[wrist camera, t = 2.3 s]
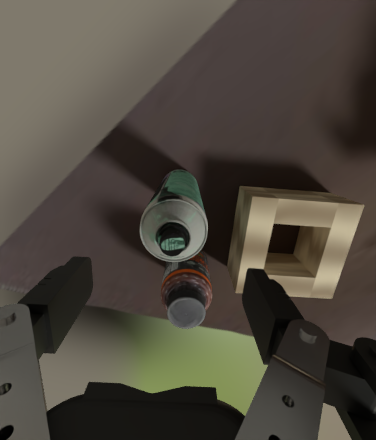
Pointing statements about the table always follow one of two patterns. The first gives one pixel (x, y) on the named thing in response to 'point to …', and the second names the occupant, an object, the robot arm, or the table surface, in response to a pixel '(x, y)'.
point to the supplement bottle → (187, 291)
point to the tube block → (306, 241)
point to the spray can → (175, 219)
